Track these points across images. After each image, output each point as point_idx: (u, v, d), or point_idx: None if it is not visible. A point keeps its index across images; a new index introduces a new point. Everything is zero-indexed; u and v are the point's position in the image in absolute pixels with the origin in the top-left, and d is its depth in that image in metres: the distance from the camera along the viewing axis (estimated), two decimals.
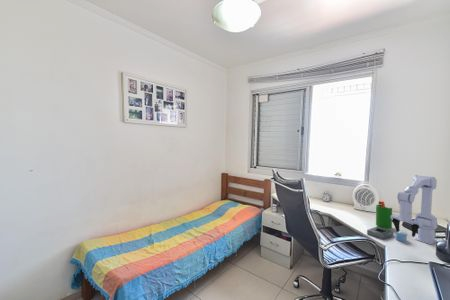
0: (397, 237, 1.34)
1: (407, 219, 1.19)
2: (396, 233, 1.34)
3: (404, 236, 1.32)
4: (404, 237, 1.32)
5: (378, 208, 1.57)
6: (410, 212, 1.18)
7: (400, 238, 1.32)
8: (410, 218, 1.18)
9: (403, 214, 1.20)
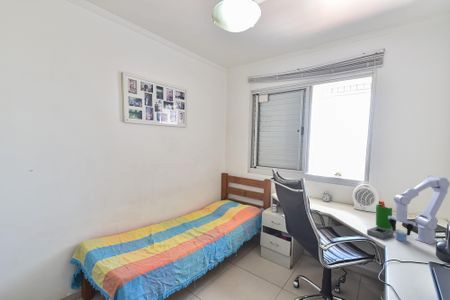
0: (397, 237, 1.34)
1: (403, 219, 1.31)
2: (396, 233, 1.34)
3: (404, 236, 1.32)
4: (404, 237, 1.32)
5: (378, 208, 1.57)
6: (403, 213, 1.31)
7: (400, 238, 1.32)
8: (405, 218, 1.31)
9: (399, 215, 1.32)
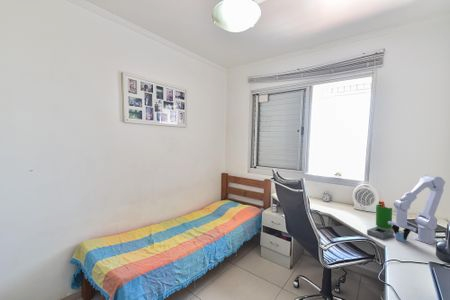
0: (397, 237, 1.34)
1: (403, 225, 1.31)
2: (396, 233, 1.34)
3: None
4: None
5: (378, 208, 1.57)
6: (403, 218, 1.31)
7: (400, 238, 1.32)
8: (405, 224, 1.31)
9: (399, 220, 1.32)
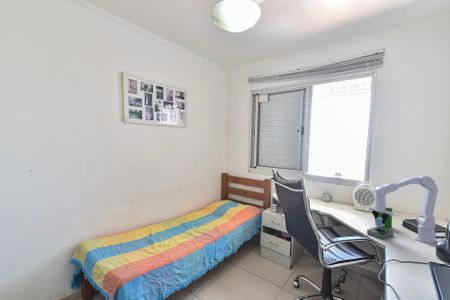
0: (376, 222, 1.42)
1: (381, 210, 1.39)
2: (375, 219, 1.42)
3: None
4: None
5: None
6: (380, 203, 1.40)
7: (379, 223, 1.41)
8: (383, 209, 1.39)
9: (378, 206, 1.41)
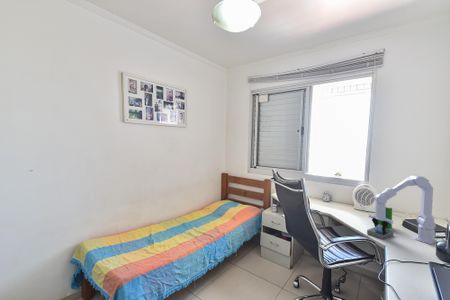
0: (376, 230, 1.42)
1: (381, 217, 1.39)
2: (375, 226, 1.43)
3: None
4: None
5: None
6: (380, 211, 1.40)
7: (379, 231, 1.41)
8: (383, 217, 1.39)
9: (378, 213, 1.41)
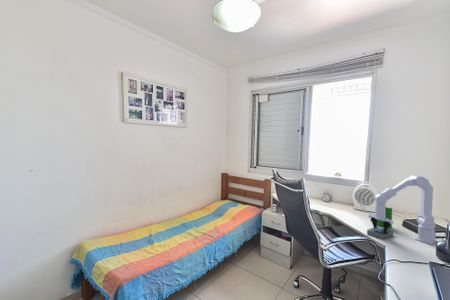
0: None
1: (381, 217, 1.39)
2: (375, 228, 1.43)
3: (382, 231, 1.40)
4: (382, 232, 1.40)
5: None
6: (380, 211, 1.40)
7: None
8: (383, 217, 1.39)
9: (378, 213, 1.41)
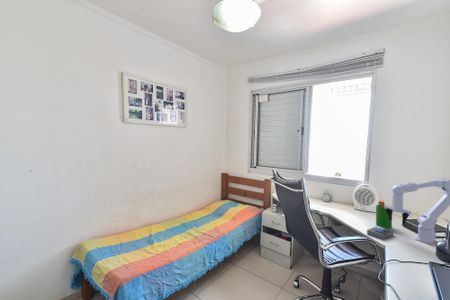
0: None
1: (398, 208, 1.37)
2: (375, 228, 1.43)
3: (382, 231, 1.40)
4: (382, 232, 1.40)
5: (378, 208, 1.57)
6: (397, 202, 1.37)
7: None
8: (401, 208, 1.36)
9: (395, 204, 1.38)
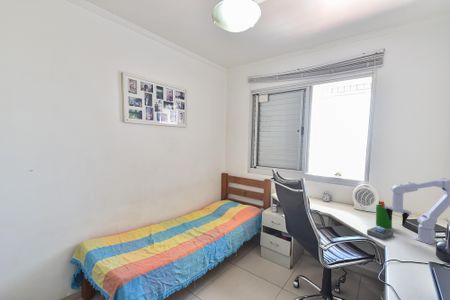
0: None
1: (398, 208, 1.37)
2: (375, 228, 1.43)
3: (382, 231, 1.40)
4: (382, 232, 1.40)
5: (378, 208, 1.57)
6: (397, 202, 1.37)
7: None
8: (401, 208, 1.36)
9: (395, 204, 1.38)
